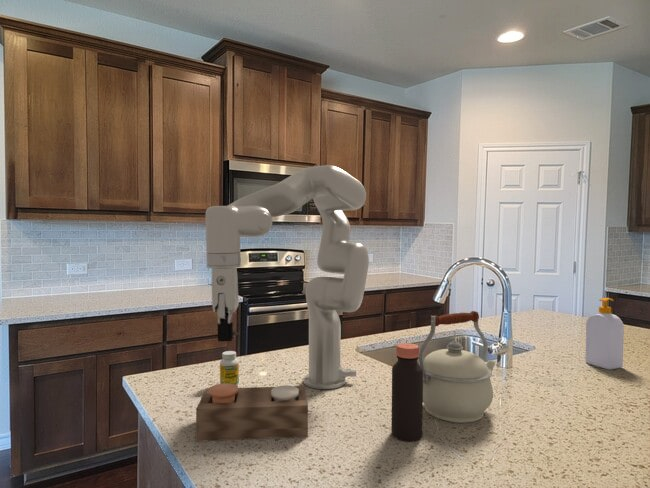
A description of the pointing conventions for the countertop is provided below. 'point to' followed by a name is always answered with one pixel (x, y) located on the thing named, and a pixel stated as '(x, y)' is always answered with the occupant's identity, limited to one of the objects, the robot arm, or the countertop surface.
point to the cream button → (285, 393)
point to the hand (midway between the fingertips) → (225, 340)
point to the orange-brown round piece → (223, 393)
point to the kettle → (456, 376)
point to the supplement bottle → (229, 368)
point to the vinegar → (407, 394)
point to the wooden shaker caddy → (252, 416)
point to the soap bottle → (604, 338)
